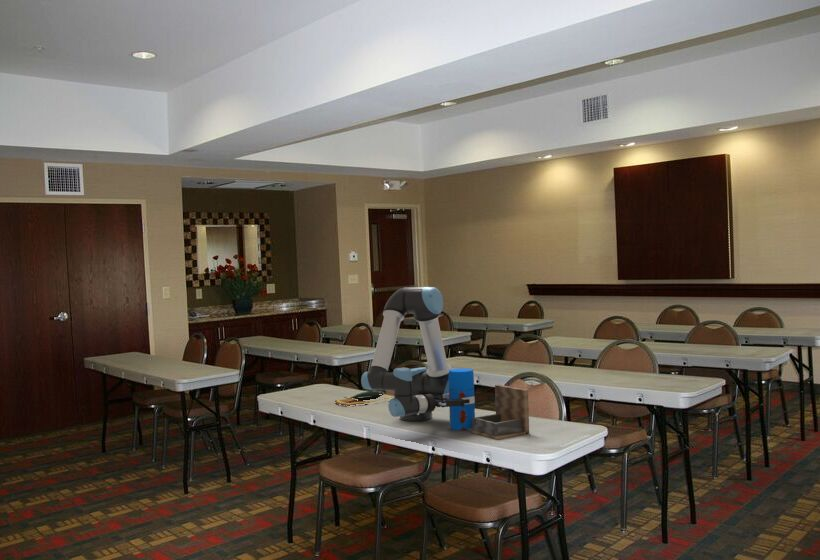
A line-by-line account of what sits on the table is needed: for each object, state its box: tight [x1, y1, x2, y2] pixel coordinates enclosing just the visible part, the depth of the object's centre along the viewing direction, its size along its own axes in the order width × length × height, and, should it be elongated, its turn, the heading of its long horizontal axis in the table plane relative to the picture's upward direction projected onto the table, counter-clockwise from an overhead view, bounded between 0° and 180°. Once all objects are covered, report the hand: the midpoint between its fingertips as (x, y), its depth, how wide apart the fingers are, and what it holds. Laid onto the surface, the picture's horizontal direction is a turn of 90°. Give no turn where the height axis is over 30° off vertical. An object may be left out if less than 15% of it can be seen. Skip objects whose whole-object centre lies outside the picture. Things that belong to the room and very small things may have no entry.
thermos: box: [448, 368, 476, 431], centre depth 305 cm, size 11×11×25 cm
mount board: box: [467, 384, 530, 440], centre depth 294 cm, size 19×17×18 cm
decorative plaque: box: [334, 389, 392, 406], centre depth 377 cm, size 30×7×20 cm
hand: (464, 397), depth 306 cm, fingers open, 13 cm apart
